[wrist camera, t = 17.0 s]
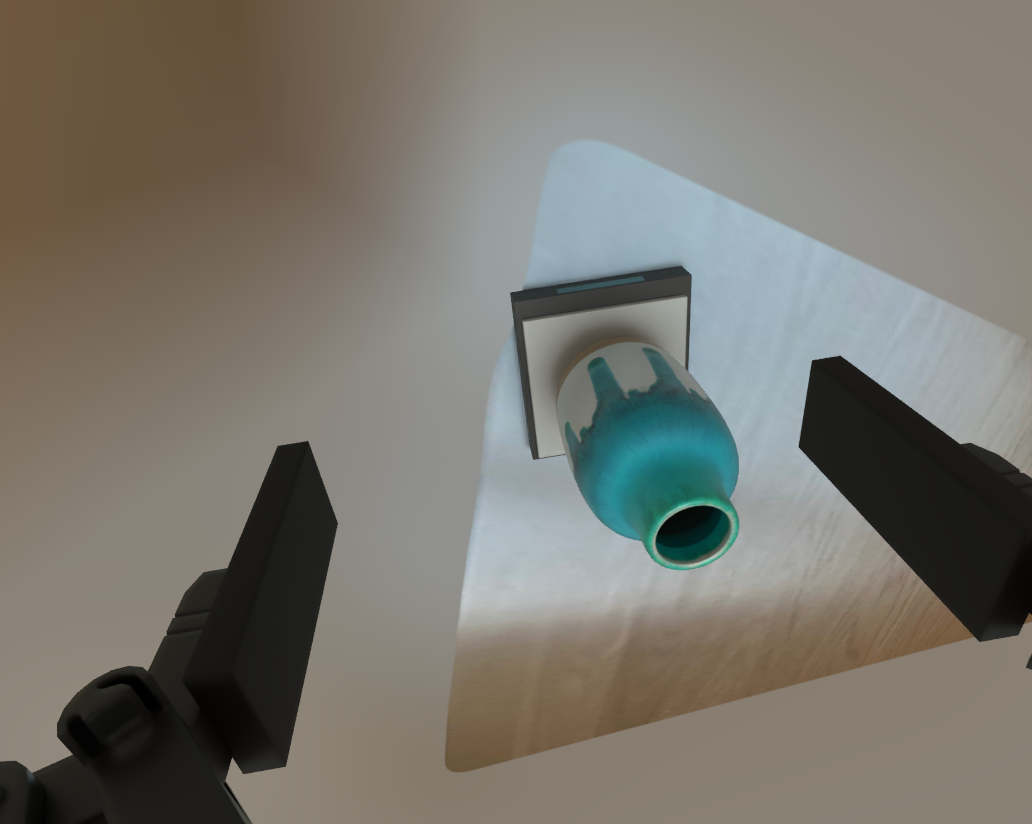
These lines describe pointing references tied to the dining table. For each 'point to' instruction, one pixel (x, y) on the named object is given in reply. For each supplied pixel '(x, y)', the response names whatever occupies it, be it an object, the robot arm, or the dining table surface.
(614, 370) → the vase
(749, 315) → the dining table surface
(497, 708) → the dining table surface
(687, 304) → the scale
